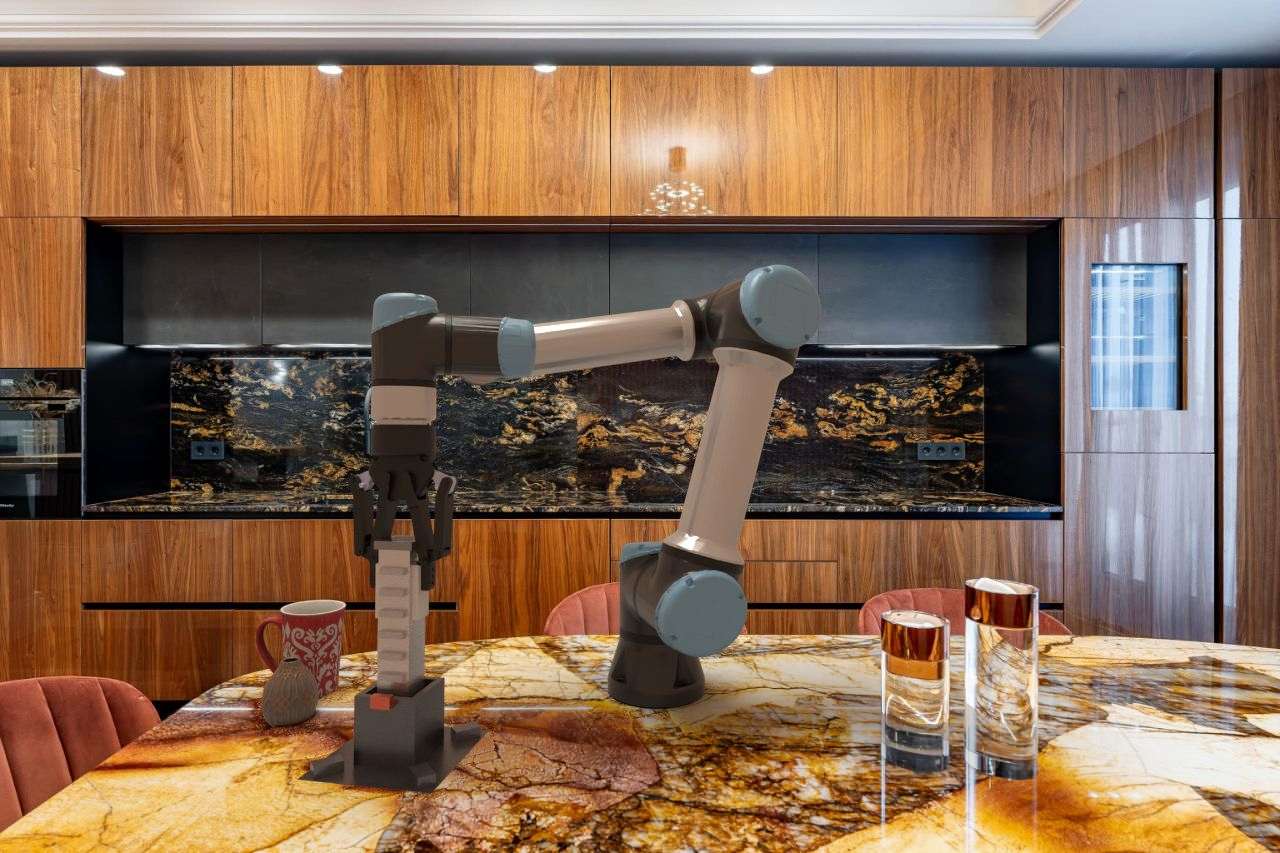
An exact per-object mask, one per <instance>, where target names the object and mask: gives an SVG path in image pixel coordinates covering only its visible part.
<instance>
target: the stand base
mask: <svg viewBox="0 0 1280 853" xmlns="http://www.w3.org/2000/svg"><path fill="white" fill-rule="evenodd" d="M445 680H446V679H445V677H441V676H428V675H427V676H425V679H424V689H423V690H421V691H420V692H419V693H417V694H416V695H415V696H413V697H412V698H411V697H398V696H394V695H392V694H379V693H377V680H376V681H374V682H373V683H372V684H371V685H369V686H368V687H366V688H364V689H363V690H361V691H360V692H358V693H356V694H355V695H354V698H353V700H354V701H353V707H354V708H353V737H352V738H350V739H349V740H347V741H346V742H345V743H343V744H342V745H341V746H339V747H338V748H337V749H335V750H334V751H333V752H331V753H330V754H329V755H327V756H326V757H323V758H318V759H314V760H310V765H309V766H310V767H309V768H310V769H309V770H307V771H306V772H305V773H303V774H302V775H301V776H300V777H298V778H297V780H298V781H306V782H307V781H308V782H317V783H327V784H335V785H336V784H337V785H345V786H355V787H365V788H366V787H367V788H376V789H382V790H383V789H385V790H393V791H404V792H410V793H411V792H413V793H423V794H432V793H433V792H434V791H435V790H436V789H437V788H438V787H439V786H440V785H441V784H442V782H443V781H444V780H446V778H447V777H449V775H450V774H451V773H452V772H453V771H454V769H455V768H456V767H457V766H458V765H459V764H460V763H461V762H462V760H463V759H464V758H465V757H466V756H467V755H468V754H469V753H470V752H471V751H472V749H473V748H474V747H475V746H476V745H477V744H478V743H479V742H480V740H482V739H483V737H485V735H486V734H487V733H488V732H489V729H481V728H482V727H481V725H479V723H478V722H476V720H474V721H469V722H466V723H460V724H457V725H453V726H447V725H446V726H445V693H446V692H445V682H446V681H445Z"/></svg>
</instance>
